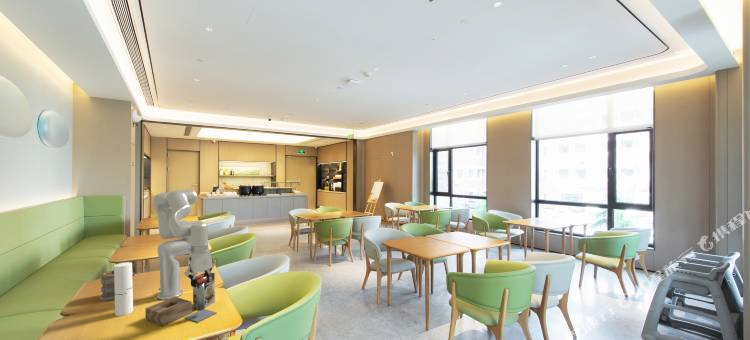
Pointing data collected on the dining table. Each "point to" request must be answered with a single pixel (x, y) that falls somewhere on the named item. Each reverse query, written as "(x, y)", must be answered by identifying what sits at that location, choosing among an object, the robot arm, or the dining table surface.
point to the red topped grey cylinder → (200, 291)
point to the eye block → (168, 311)
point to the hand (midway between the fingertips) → (200, 283)
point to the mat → (200, 315)
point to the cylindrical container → (123, 288)
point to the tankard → (108, 286)
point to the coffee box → (206, 291)
